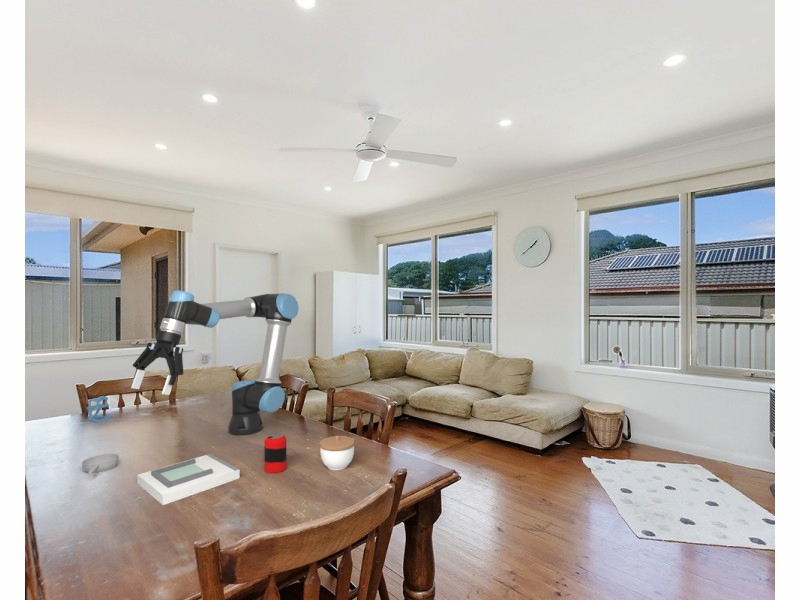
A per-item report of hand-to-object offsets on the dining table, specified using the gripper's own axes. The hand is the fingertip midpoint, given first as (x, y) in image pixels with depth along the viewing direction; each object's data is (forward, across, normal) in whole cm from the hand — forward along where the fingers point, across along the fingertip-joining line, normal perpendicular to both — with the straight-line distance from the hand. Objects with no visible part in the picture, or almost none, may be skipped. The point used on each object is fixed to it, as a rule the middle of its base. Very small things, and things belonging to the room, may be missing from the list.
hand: (150, 391), depth 142 cm
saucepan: (+30, -18, +7) cm, 36 cm away
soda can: (+19, +41, +24) cm, 51 cm away
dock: (+26, +19, +9) cm, 33 cm away
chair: (+20, -81, +54) cm, 100 cm away
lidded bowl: (+14, +61, +32) cm, 71 cm away
